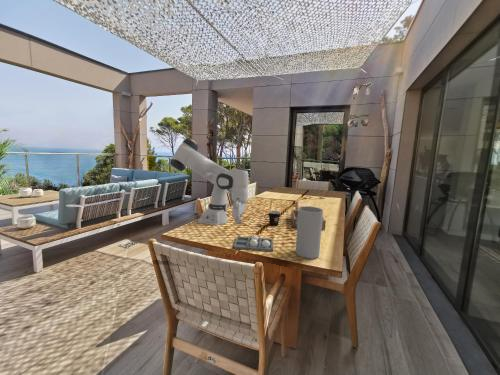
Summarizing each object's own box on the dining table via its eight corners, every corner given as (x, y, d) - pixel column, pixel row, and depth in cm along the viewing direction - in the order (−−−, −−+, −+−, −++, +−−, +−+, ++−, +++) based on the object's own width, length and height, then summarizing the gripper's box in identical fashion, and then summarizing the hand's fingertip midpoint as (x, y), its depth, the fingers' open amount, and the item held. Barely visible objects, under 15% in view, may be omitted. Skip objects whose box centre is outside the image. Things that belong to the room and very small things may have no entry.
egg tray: (233, 249, 123) (233, 246, 123) (237, 239, 138) (237, 236, 138) (273, 252, 121) (273, 249, 121) (272, 241, 136) (272, 238, 136)
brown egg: (241, 225, 121) (242, 217, 121) (233, 225, 122) (234, 216, 122) (243, 224, 126) (243, 216, 126) (235, 223, 127) (235, 215, 126)
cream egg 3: (261, 249, 123) (261, 241, 123) (261, 245, 128) (262, 238, 127) (269, 249, 123) (270, 242, 122) (269, 246, 127) (270, 238, 127)
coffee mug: (279, 223, 172) (280, 211, 170) (279, 227, 163) (280, 214, 162) (264, 222, 173) (264, 210, 171) (263, 226, 164) (264, 213, 163)
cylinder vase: (323, 258, 116) (327, 212, 112) (300, 259, 114) (304, 212, 110) (312, 248, 128) (316, 206, 124) (292, 249, 126) (295, 206, 122)
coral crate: (293, 228, 162) (294, 218, 161) (290, 218, 187) (291, 210, 186) (324, 230, 160) (325, 220, 159) (317, 219, 185) (318, 211, 184)
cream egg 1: (250, 243, 131) (250, 236, 130) (250, 240, 135) (251, 233, 135) (258, 244, 130) (258, 236, 130) (258, 240, 135) (258, 233, 134)
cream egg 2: (249, 248, 124) (249, 240, 123) (249, 245, 128) (250, 237, 128) (257, 249, 123) (257, 241, 123) (257, 245, 128) (258, 238, 127)
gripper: (241, 201, 111) (240, 227, 113) (248, 194, 131) (247, 217, 133) (229, 200, 112) (228, 226, 114) (237, 193, 132) (237, 216, 134)
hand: (238, 221), depth 124 cm, fingers closed on brown egg, 5 cm apart
